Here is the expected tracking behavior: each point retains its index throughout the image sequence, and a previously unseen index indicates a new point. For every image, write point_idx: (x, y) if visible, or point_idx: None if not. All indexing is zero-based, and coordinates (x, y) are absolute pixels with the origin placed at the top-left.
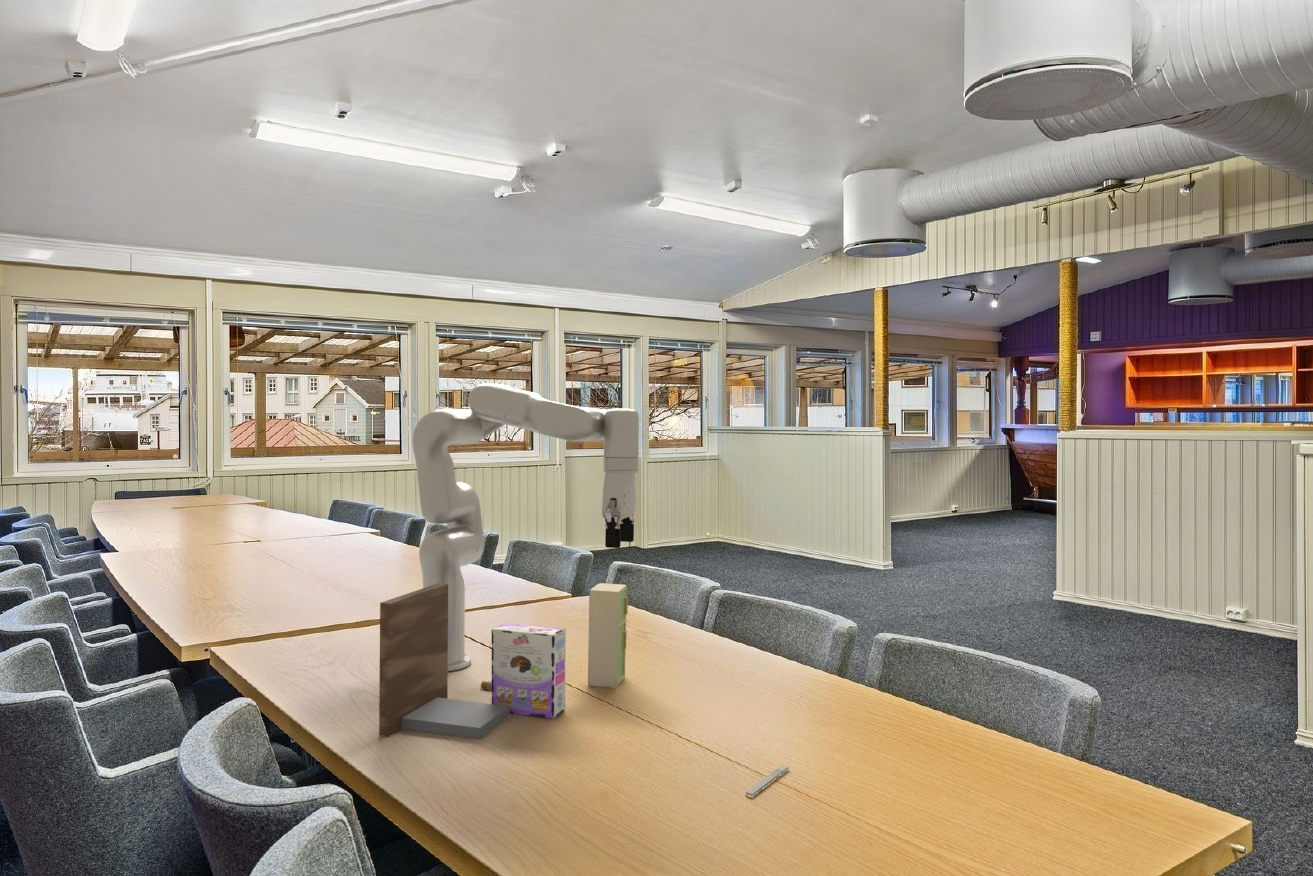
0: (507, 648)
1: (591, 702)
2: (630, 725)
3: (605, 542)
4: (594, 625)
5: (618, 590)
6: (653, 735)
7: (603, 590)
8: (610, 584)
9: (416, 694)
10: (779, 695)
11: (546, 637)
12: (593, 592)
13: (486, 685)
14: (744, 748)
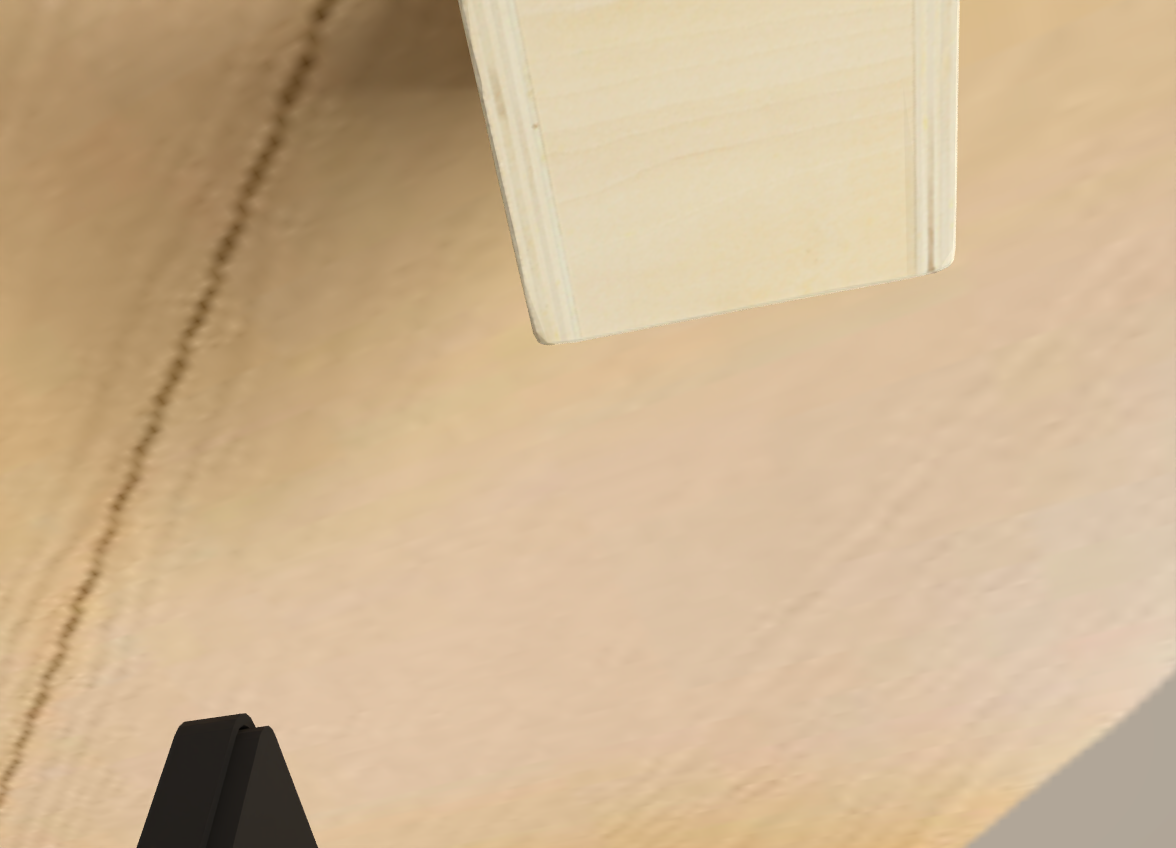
0: None
1: (218, 59)
2: (54, 386)
3: (152, 803)
4: None
5: (606, 322)
6: (19, 509)
7: (520, 165)
8: (916, 77)
9: None
10: (718, 733)
11: None
12: (465, 32)
13: None
14: (126, 782)
